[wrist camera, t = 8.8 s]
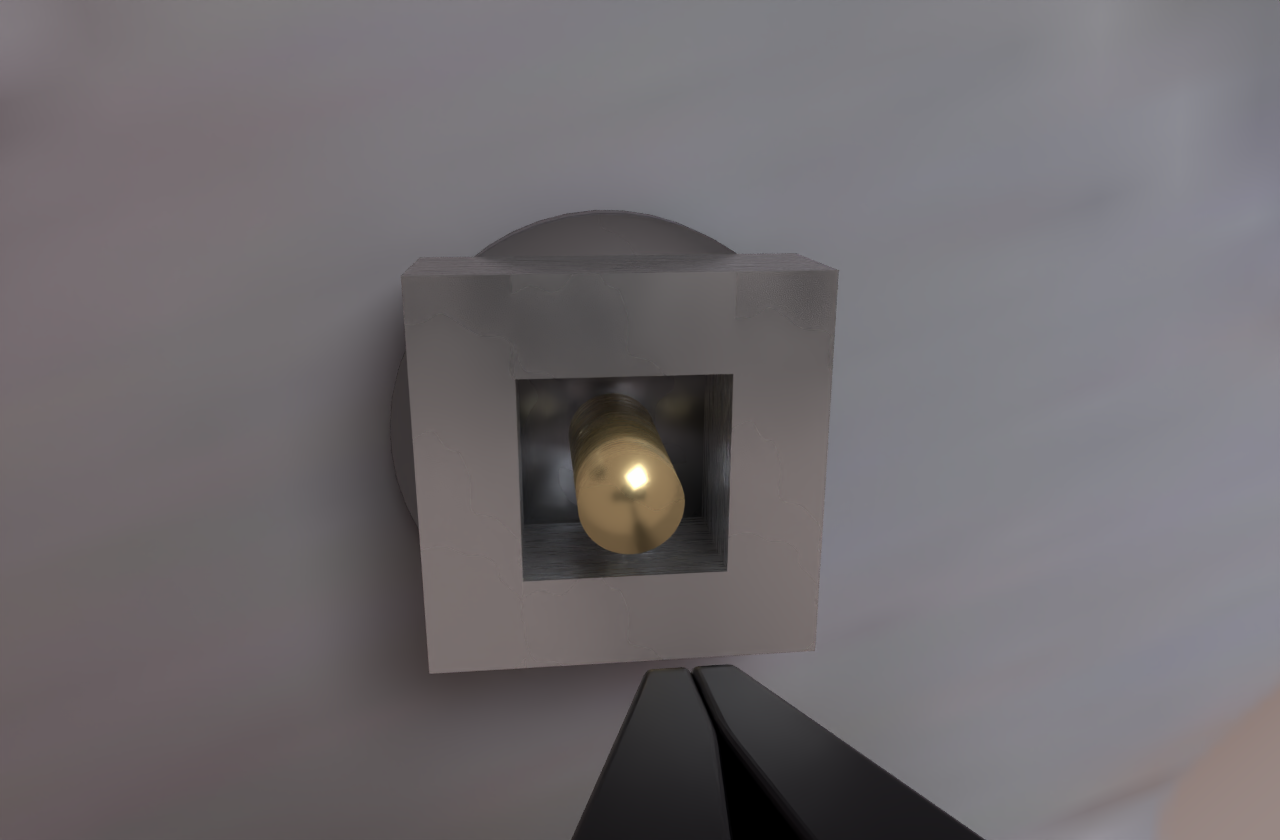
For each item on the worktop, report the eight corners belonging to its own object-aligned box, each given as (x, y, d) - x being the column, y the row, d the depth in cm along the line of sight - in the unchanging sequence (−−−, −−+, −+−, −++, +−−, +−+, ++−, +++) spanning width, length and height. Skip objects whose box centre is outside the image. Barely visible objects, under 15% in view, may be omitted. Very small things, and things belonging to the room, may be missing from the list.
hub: (860, 497, 19) (959, 602, 15) (518, 661, 19) (514, 814, 15) (708, 136, 17) (772, 130, 12) (319, 326, 17) (243, 389, 13)
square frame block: (779, 588, 18) (814, 651, 16) (442, 605, 18) (429, 674, 15) (795, 253, 16) (838, 270, 14) (419, 257, 16) (400, 275, 13)
